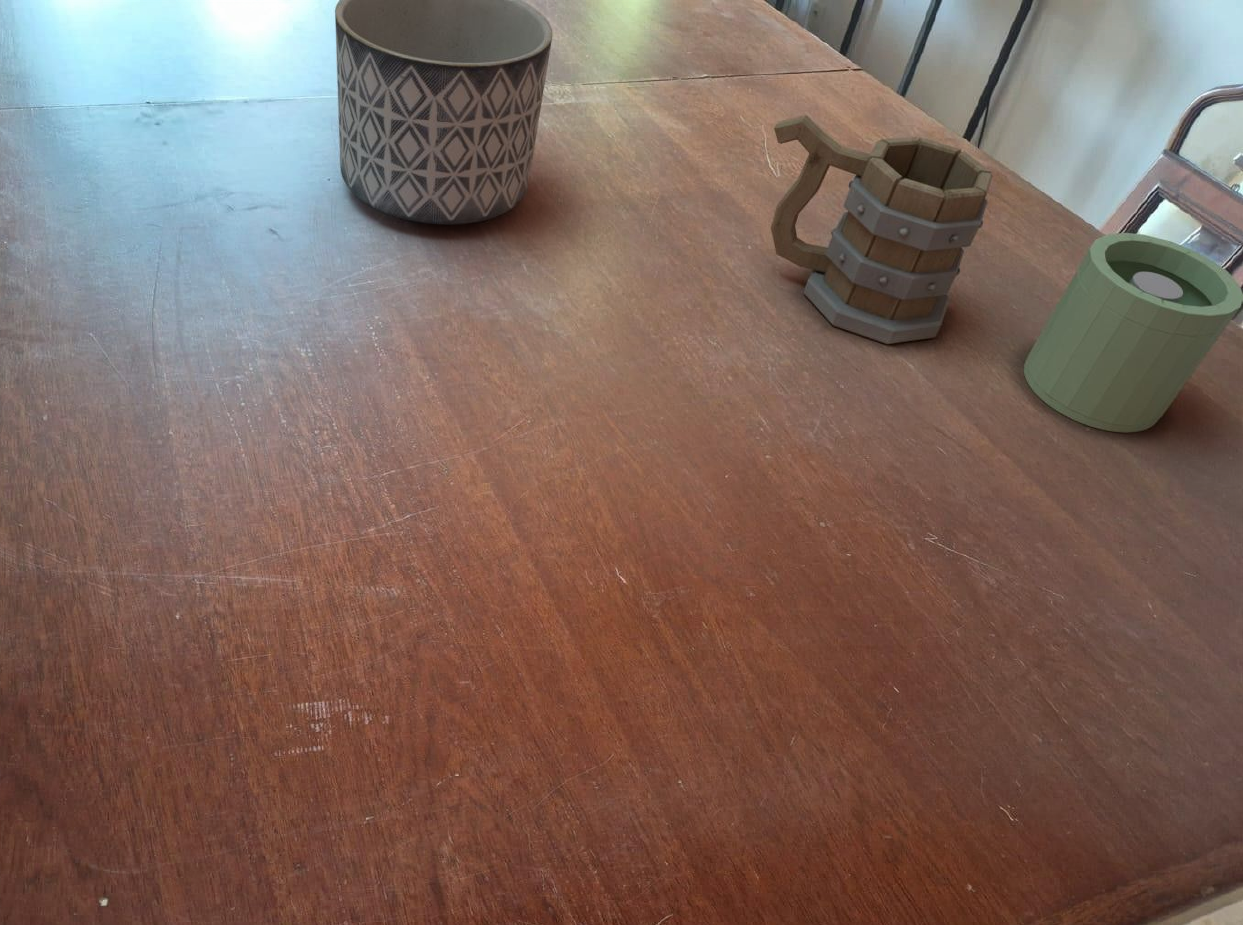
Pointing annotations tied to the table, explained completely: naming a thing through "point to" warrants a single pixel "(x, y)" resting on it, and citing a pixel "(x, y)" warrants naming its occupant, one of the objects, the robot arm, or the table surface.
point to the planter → (439, 104)
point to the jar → (1129, 333)
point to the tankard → (884, 230)
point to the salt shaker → (1157, 286)
